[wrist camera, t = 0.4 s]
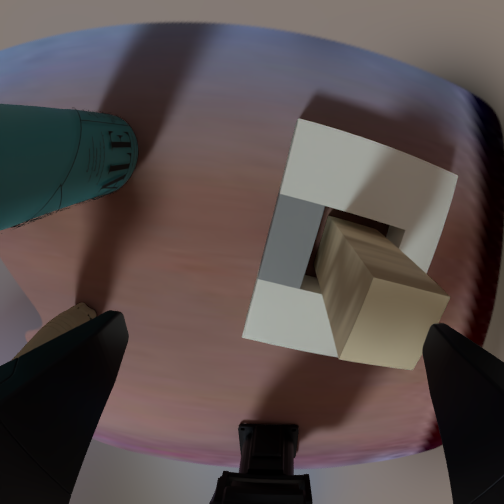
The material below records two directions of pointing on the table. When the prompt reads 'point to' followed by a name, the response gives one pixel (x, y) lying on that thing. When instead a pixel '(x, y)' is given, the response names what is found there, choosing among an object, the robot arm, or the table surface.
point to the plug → (375, 296)
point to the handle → (59, 326)
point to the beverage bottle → (59, 159)
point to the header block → (346, 199)
